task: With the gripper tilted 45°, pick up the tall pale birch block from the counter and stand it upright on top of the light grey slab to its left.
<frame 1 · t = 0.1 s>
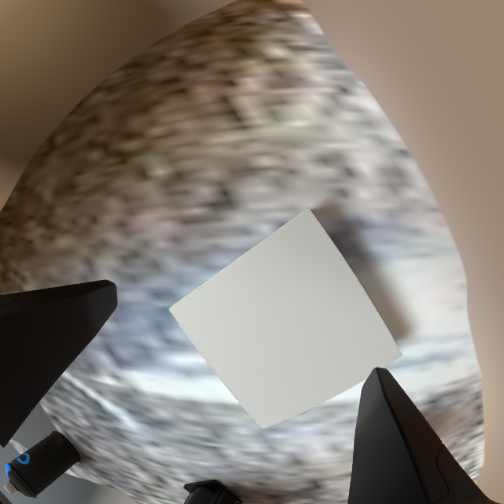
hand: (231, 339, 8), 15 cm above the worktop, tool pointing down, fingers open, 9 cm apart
light grey slab: (288, 324, 24), on the worktop
aerosol can: (66, 445, 35), on the worktop
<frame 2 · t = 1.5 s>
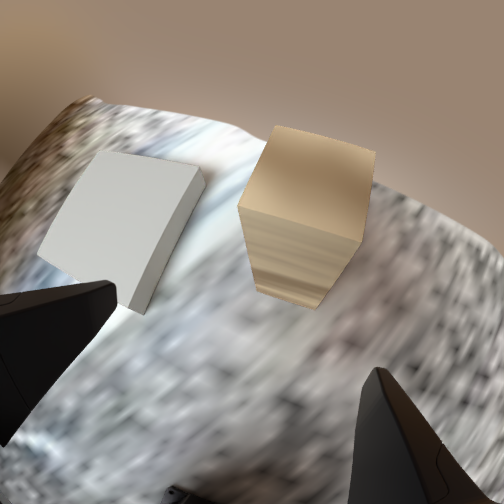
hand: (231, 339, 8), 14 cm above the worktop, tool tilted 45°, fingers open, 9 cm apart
light grey slab: (120, 226, 26), on the worktop
birch block: (295, 273, 23), on the worktop
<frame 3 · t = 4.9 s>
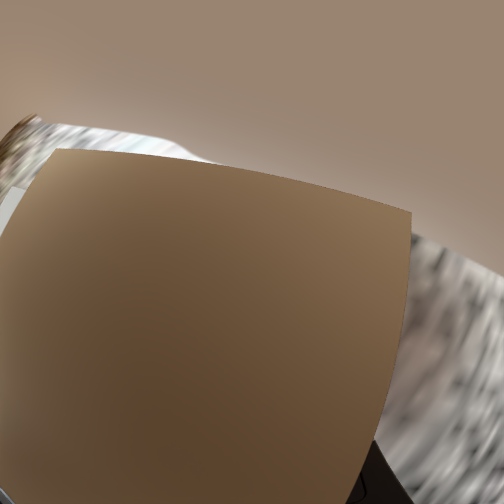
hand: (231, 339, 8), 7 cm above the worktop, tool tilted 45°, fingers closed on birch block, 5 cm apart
light grey slab: (28, 288, 17), on the worktop
birch block: (239, 379, 14), on the worktop, touching gripper
when the fingers open (10 cm above the worktop, at t = 9.6 s): birch block stays where it is, resting on light grey slab.
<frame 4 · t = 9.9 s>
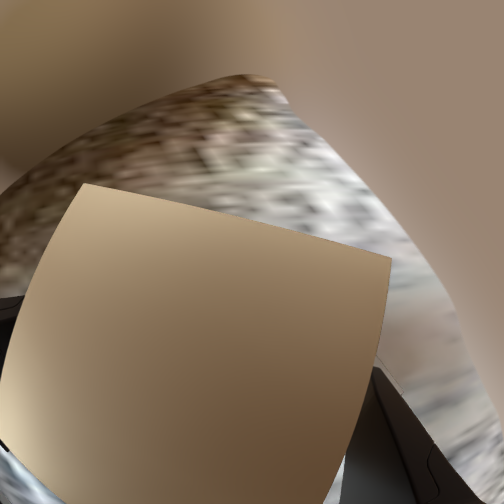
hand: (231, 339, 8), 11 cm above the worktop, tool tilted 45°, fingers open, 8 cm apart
birch block: (241, 379, 14), point 3 cm above the worktop, touching light grey slab
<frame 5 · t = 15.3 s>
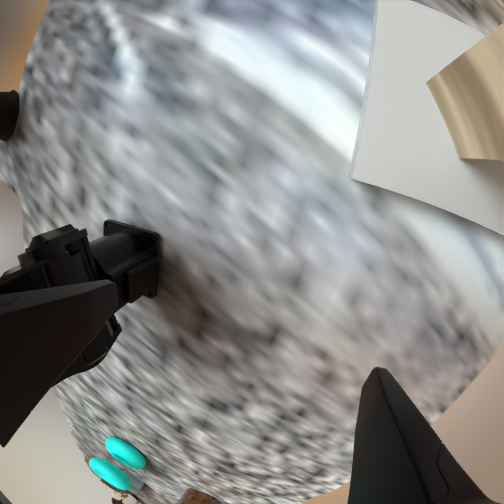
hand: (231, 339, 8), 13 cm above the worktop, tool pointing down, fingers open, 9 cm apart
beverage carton: (125, 474, 57), on the worktop
spread jar: (128, 492, 70), on the worktop
light grey slab: (453, 115, 14), on the worktop
food item: (198, 496, 46), on the worktop
birch block: (471, 110, 11), point 3 cm above the worktop, touching light grey slab
aerosol can: (10, 115, 25), on the worktop
donuts: (129, 448, 44), on the worktop
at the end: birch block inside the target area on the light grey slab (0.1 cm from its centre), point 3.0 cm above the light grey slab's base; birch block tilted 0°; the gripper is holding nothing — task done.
